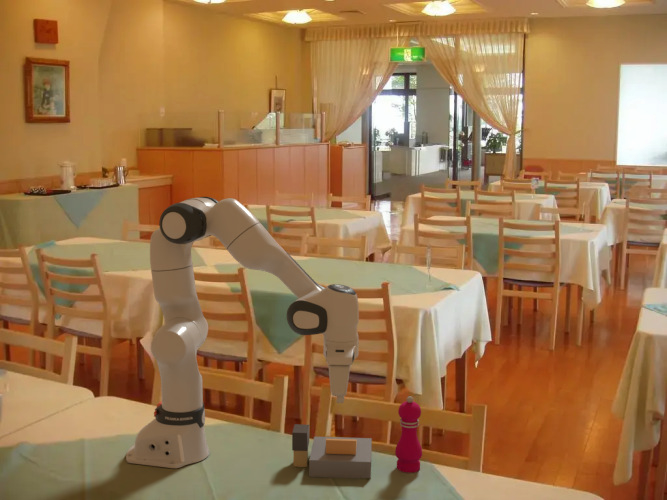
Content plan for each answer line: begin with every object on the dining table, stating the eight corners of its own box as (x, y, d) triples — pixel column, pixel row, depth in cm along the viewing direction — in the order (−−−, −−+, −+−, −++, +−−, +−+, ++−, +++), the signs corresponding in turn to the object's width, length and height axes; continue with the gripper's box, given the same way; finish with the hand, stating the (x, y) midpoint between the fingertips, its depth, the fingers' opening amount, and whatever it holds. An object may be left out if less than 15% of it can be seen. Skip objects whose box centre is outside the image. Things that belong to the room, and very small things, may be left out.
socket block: (309, 476, 211) (309, 460, 211) (314, 452, 227) (314, 436, 226) (370, 478, 210) (370, 462, 210) (371, 453, 226) (371, 438, 225)
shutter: (325, 453, 214) (325, 440, 214) (327, 441, 222) (327, 428, 222) (355, 454, 214) (356, 440, 213) (356, 442, 222) (357, 429, 221)
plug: (292, 468, 217) (292, 432, 215) (294, 459, 222) (294, 424, 221) (307, 468, 216) (307, 433, 215) (309, 459, 222) (309, 424, 221)
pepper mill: (420, 474, 213) (422, 402, 210) (393, 472, 214) (394, 399, 211) (423, 463, 220) (425, 393, 217) (396, 461, 221) (398, 391, 218)
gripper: (331, 337, 215) (330, 388, 217) (325, 360, 195) (325, 415, 197) (354, 338, 215) (354, 388, 217) (352, 360, 194) (351, 415, 196)
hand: (340, 401), depth 207 cm, fingers closed
